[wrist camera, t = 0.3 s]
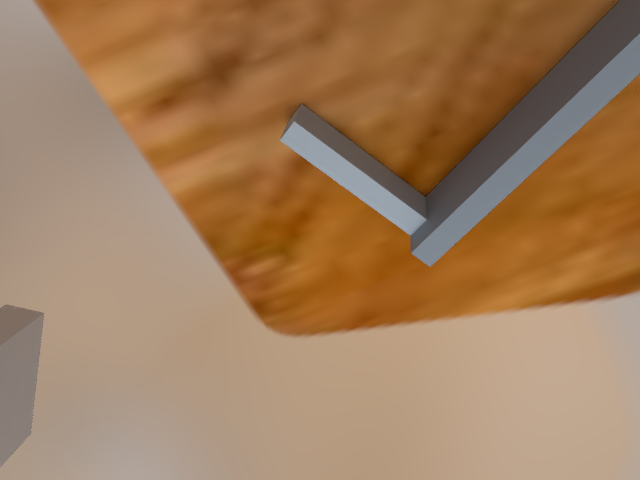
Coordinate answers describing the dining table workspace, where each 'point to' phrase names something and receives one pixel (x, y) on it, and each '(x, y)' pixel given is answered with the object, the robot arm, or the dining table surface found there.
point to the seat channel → (484, 141)
